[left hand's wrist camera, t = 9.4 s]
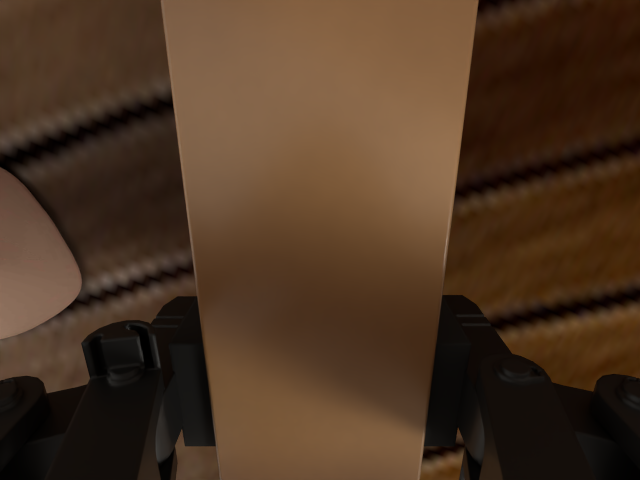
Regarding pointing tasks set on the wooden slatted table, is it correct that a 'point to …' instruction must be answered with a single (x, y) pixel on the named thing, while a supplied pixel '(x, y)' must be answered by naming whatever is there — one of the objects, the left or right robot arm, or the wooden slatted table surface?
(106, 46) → the wooden slatted table surface
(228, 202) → the bar
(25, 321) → the anatomical model
